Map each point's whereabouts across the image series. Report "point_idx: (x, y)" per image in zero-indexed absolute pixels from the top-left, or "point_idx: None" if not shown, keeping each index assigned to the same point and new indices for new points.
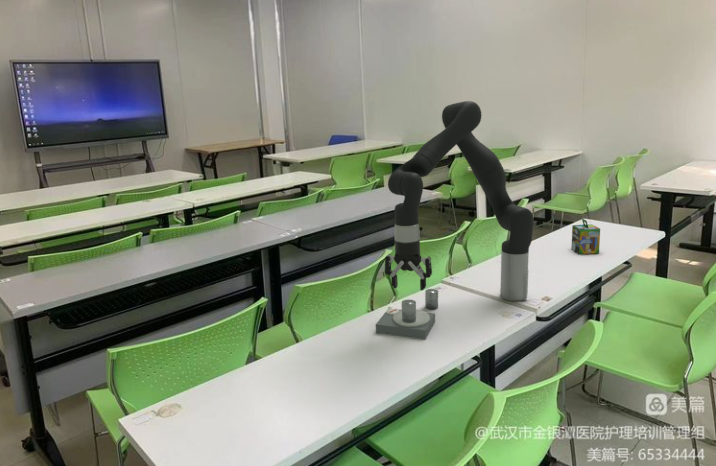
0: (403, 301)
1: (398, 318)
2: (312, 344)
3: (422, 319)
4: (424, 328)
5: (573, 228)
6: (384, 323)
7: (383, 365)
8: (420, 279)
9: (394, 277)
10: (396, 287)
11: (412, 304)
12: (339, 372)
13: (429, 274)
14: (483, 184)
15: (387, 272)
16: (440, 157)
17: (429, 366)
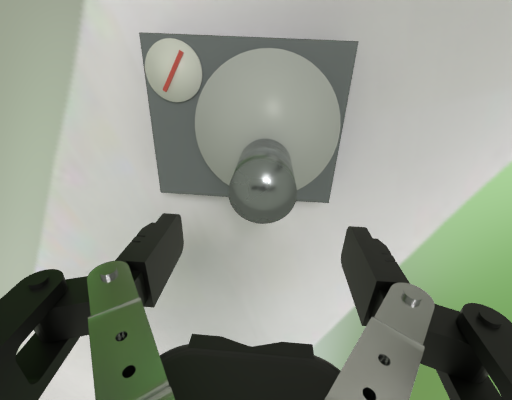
0: (235, 189)
1: (223, 158)
2: (59, 262)
3: (313, 149)
4: (324, 191)
5: None
6: (185, 180)
7: (248, 309)
8: (365, 324)
9: (148, 306)
10: (182, 234)
11: (285, 214)
12: (178, 337)
13: (477, 387)
14: None
15: (66, 339)
16: None
17: (343, 300)
